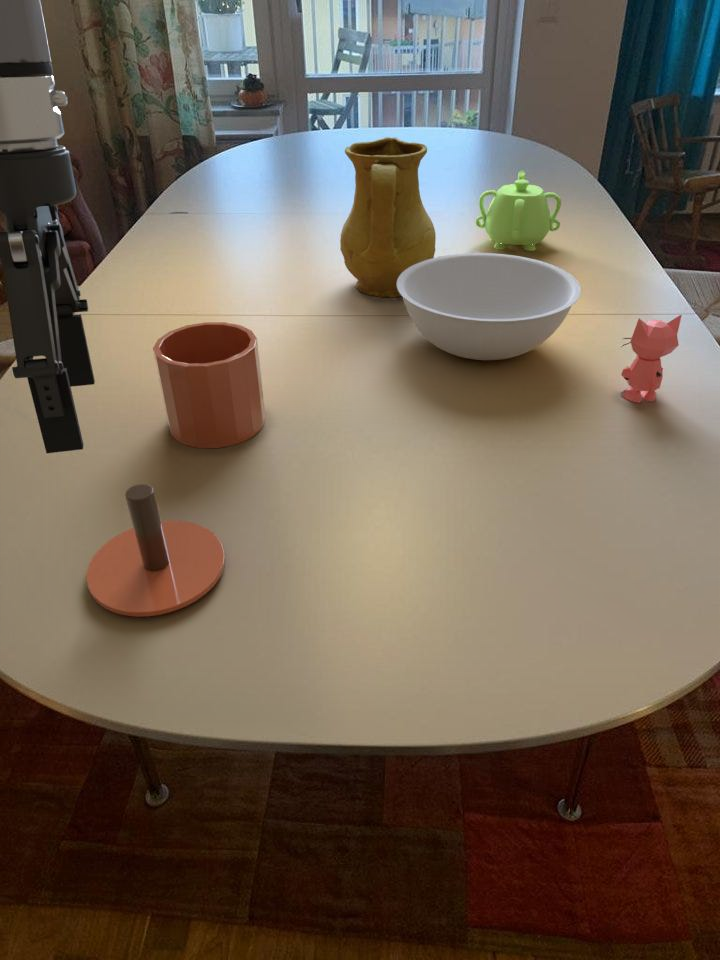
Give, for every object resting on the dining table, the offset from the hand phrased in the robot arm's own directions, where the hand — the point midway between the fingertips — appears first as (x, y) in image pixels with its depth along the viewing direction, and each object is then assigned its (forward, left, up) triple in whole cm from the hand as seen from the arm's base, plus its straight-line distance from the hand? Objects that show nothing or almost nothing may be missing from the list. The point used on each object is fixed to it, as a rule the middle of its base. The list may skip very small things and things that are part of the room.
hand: (73, 414), depth 63 cm
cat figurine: (+63, +36, -19) cm, 75 cm away
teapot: (+56, +103, -19) cm, 118 cm away
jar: (+5, +29, -19) cm, 35 cm away
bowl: (+43, +53, -19) cm, 70 cm away
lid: (+4, +1, -18) cm, 19 cm away
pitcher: (+28, +78, -19) cm, 85 cm away
